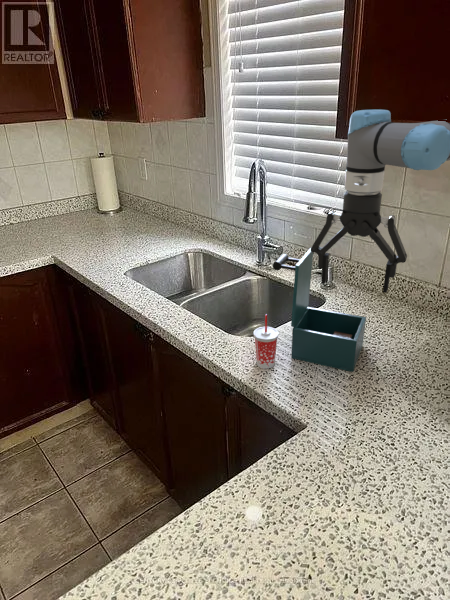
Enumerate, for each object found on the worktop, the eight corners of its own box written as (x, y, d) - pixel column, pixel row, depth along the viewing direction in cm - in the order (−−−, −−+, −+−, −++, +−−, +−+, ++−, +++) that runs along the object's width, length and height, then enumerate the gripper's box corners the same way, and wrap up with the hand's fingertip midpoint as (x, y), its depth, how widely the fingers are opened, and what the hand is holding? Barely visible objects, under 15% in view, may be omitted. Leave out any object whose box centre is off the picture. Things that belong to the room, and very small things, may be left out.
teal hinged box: (362, 346, 118) (366, 317, 114) (353, 372, 108) (356, 341, 104) (305, 334, 124) (306, 306, 120) (291, 358, 114) (292, 328, 110)
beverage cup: (282, 365, 112) (284, 316, 105) (263, 373, 109) (263, 323, 103) (268, 353, 116) (268, 306, 110) (248, 361, 114) (248, 313, 107)
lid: (313, 248, 113) (285, 243, 115) (298, 265, 102) (268, 260, 105) (308, 305, 120) (281, 300, 123) (294, 327, 110) (265, 320, 113)
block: (350, 349, 115) (352, 334, 113) (346, 358, 112) (348, 343, 110) (333, 345, 117) (334, 331, 115) (329, 354, 114) (330, 339, 112)
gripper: (298, 191, 94) (295, 284, 103) (427, 199, 84) (411, 301, 93) (308, 184, 100) (305, 272, 109) (430, 191, 90) (414, 287, 99)
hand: (354, 285), depth 101 cm, fingers open, 13 cm apart
